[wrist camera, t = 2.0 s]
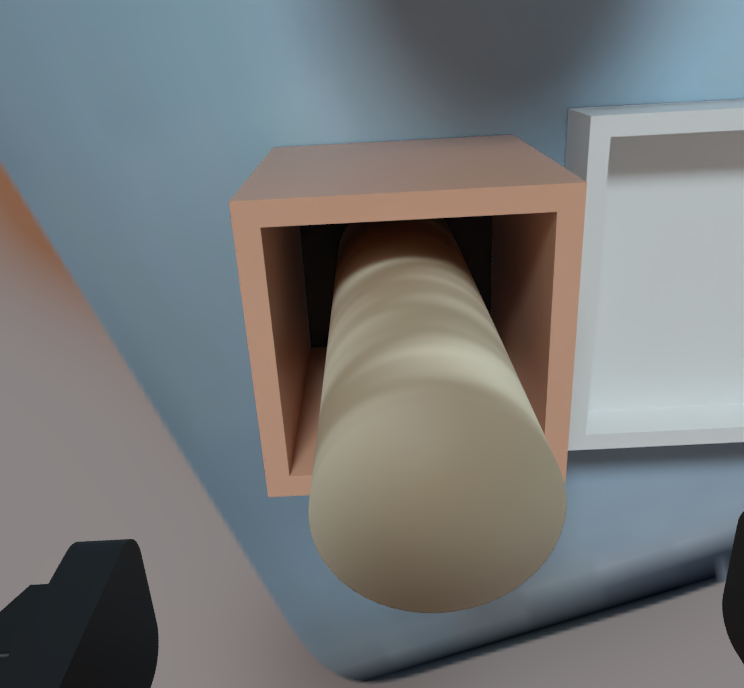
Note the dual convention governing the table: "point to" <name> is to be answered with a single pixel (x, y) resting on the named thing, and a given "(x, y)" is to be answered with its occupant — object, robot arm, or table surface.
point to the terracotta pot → (407, 202)
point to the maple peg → (425, 432)
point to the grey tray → (659, 275)
